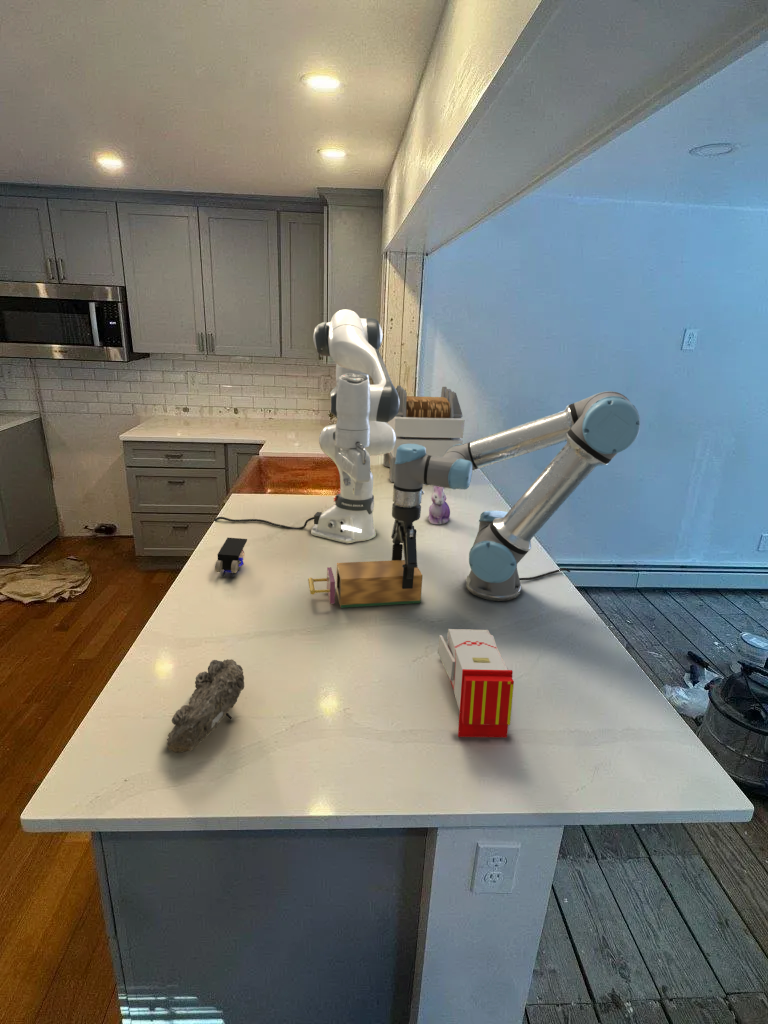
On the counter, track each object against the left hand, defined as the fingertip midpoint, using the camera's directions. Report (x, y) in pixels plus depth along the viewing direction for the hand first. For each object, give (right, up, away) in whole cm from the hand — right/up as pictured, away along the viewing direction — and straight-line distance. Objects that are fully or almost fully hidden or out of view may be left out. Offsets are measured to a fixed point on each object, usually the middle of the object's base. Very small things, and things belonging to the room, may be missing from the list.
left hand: (351, 489), depth 151 cm
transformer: (+26, +13, +124) cm, 128 cm away
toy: (+27, -44, -32) cm, 60 cm away
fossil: (-24, -45, -42) cm, 66 cm away
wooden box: (+7, -29, +5) cm, 30 cm away
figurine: (+29, -9, +63) cm, 70 cm away
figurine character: (-36, -23, +17) cm, 46 cm away
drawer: (+1, -28, +4) cm, 29 cm away
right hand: (+13, -24, +5) cm, 27 cm away
